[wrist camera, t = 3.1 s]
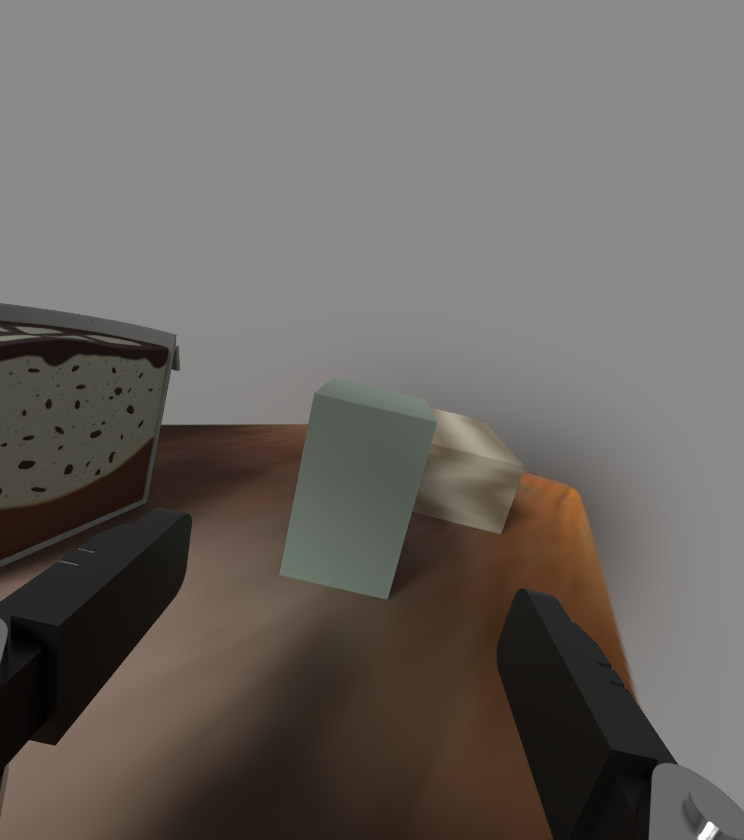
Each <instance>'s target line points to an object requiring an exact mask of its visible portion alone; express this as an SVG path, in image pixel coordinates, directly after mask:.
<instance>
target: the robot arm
mask: <svg viewBox="0 0 744 840" xmlns="http://www.w3.org/2000/svg"><path fill="white" fill-rule="evenodd" d="M191 526H192V518H191V515H190V514H188V513H183V512H179V511H174V510H170V509H165V508H161V507H156V508H154V509H152V510H151V511H150V512H148V513H147V514H146V515H144V516H143V517H142V518H140V519H139V520H138V521H136V522H135V523H134V524H129V523H124V524H121V525H119V526H116V527H113V528H111V529H108V530H106V531H103V532H100V533H99V534H97V535H96V536H94V537H93V538H91V539H90V540H89V541H87V542H86V543H84V544H83V545H81V546H80V547H79V549H78V550H74V551H73V552H71V553H70V554H68V555H67V556H65V557H64V558H63V559H62V560H61V562H60V563H58V562H57V563H55V564H54V565H52V566H51V567H50V568H48V569H47V570H45V571H44V572H42V573H41V574H39V575H38V576H36V577H35V578H34V579H32V580H31V581H29V582H28V583H26V584H25V585H23V586H22V587H21V588H19V589H18V590H16V591H15V592H13V593H12V594H10V595H9V596H8V597H6V598H5V599H3V600H2V601H0V816H1V811H2V805H3V800H4V794H5V789H6V783H7V778H8V770H9V762H10V761H11V760H12V759H13V757H14V756H15V755H16V754H17V753H18V752H19V751H20V749H21V748H22V747H23V746H24V745H25V744H26V743H27V742H28V740H31V741H36V742H41V743H45V744H50V745H56V744H57V743H58V742H59V740H60V739H61V738H62V737H63V735H64V734H65V733H66V732H67V730H68V729H69V728H70V727H71V726H72V724H73V723H74V722H75V721H76V719H77V718H78V717H79V716H80V714H81V713H82V712H83V711H84V709H85V708H86V707H87V706H88V704H89V703H90V702H91V701H92V699H93V698H94V697H95V696H96V695H97V693H98V692H99V691H100V690H101V688H102V687H103V686H104V685H105V683H106V682H107V681H108V680H109V678H110V677H111V676H112V675H113V673H114V672H115V671H116V670H117V669H118V667H119V666H120V665H121V664H122V662H123V661H124V660H125V659H126V657H127V656H128V655H129V654H130V652H131V651H132V650H133V649H134V647H135V646H136V645H137V644H138V643H139V641H140V640H141V639H142V638H143V636H144V635H145V634H146V633H147V631H148V630H149V629H150V628H151V626H152V625H153V624H154V623H155V621H156V620H157V619H158V618H159V617H160V615H161V614H162V613H163V612H164V610H165V609H166V608H167V607H168V605H169V604H170V603H171V602H172V600H173V599H174V598H175V596H176V595H177V593H178V591H179V589H180V587H181V585H182V583H183V580H184V577H185V573H186V568H187V559H188V551H189V543H190V534H191ZM497 666H498V671H499V674H500V677H501V680H502V683H503V686H504V689H505V692H506V695H507V698H508V702H509V705H510V708H511V711H512V714H513V717H514V720H515V723H516V726H517V729H518V732H519V735H520V738H521V741H522V744H523V747H524V751H525V754H526V757H527V760H528V763H529V766H530V769H531V772H532V775H533V778H534V781H535V784H536V787H537V790H538V793H539V796H540V800H541V803H542V806H543V809H544V812H545V815H546V818H547V821H548V824H549V827H550V830H551V833H552V836H553V839H554V840H744V811H743V810H742V809H741V808H740V807H739V806H738V805H737V804H736V803H735V802H734V801H733V800H732V799H730V798H729V797H728V796H727V795H726V794H725V793H724V792H722V791H721V790H720V789H719V788H717V787H716V786H715V785H713V784H712V783H711V782H709V781H708V780H707V779H705V778H703V777H702V776H700V775H699V774H697V773H695V772H693V771H691V770H689V769H687V768H685V767H682V766H680V765H678V764H677V762H676V761H675V759H674V758H673V756H672V755H671V753H670V752H669V750H668V749H667V748H666V746H665V744H664V743H663V741H662V740H661V739H660V737H659V736H658V734H657V733H656V731H655V730H654V728H653V727H652V725H651V724H650V722H649V721H648V719H647V718H646V716H645V715H644V713H643V712H642V710H641V709H640V707H639V706H638V704H637V703H636V701H635V700H634V698H633V697H632V695H631V694H630V692H629V691H628V689H625V688H624V683H623V682H622V680H621V679H620V677H619V676H618V674H617V673H616V672H615V670H612V669H611V664H610V663H609V661H608V660H607V658H606V657H605V655H604V654H603V652H602V651H601V649H600V648H599V646H598V645H597V643H596V642H595V641H594V640H592V639H591V638H590V637H589V636H588V635H587V634H586V633H585V632H584V631H583V630H582V629H581V628H580V627H579V626H578V625H577V624H576V623H572V622H571V620H570V619H569V617H568V616H567V614H566V612H565V611H564V609H563V608H562V606H561V605H560V603H559V601H558V600H557V599H556V598H555V597H554V596H552V595H548V594H544V593H539V592H535V591H530V590H526V589H519V590H518V591H517V592H516V594H515V596H514V599H513V601H512V604H511V607H510V610H509V613H508V615H507V618H506V621H505V624H504V627H503V629H502V632H501V635H500V638H499V641H498V645H497Z"/></svg>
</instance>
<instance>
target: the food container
mask: <svg viewBox="0 0 744 840" xmlns="http://www.w3.org/2000/svg"><path fill="white" fill-rule="evenodd" d="M171 369H173V370H177V371H179V370H180V360H179V346H176V335H175V334H171V333H168V332H164V331H160V330H156V329H152V328H148V327H143V326H138V325H134V324H129V323H124V322H119V321H114V320H108V319H103V318H97V317H92V316H86V315H80V314H74V313H67V312H61V311H55V310H48V309H41V308H34V307H27V306H19V305H11V304H3V303H0V567H2V566H5V565H7V564H9V563H11V562H14V561H16V560H18V559H20V558H23V557H25V556H27V555H30V554H32V553H34V552H36V551H39V550H41V549H43V548H45V547H48V546H50V545H52V544H54V543H57V542H59V541H61V540H63V539H66V538H68V537H70V536H73V535H75V534H77V533H79V532H82V531H84V530H86V529H88V528H91V527H93V526H95V525H97V524H100V523H102V522H104V521H106V520H109V519H111V518H113V517H116V516H118V515H120V514H122V513H125V512H127V511H129V510H131V509H134V508H136V507H138V506H140V505H143V504H145V503H147V499H148V493H149V488H150V482H151V477H152V471H153V466H154V461H155V455H156V450H157V444H158V439H159V433H160V428H161V422H162V417H163V411H164V406H165V400H166V395H167V389H168V384H169V378H170V373H171Z"/></svg>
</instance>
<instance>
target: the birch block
mask: <svg viewBox="0 0 744 840" xmlns="http://www.w3.org/2000/svg"><path fill="white" fill-rule="evenodd" d="M430 409H431V411H432V413H433V415H434V417H435V419H436V420H437V425H436V428H435V432H434V436H433V439H432V443H431V446H430V450H429V453H428V457H427V461H426V464H425V468H424V471H423V475H422V479H421V482H420V486H419V489H418V493H417V496H416V500H415V504H414V507H413V511H412V512H414V513H418V514H422V515H426V516H430V517H434V518H438V519H442V520H446V521H450V522H454V523H458V524H462V525H466V526H470V527H474V528H478V529H482V530H486V531H490V532H494V533H498V534H502V531H503V528H504V525H505V522H506V519H507V517H508V514H509V511H510V508H511V505H512V502H513V499H514V497H515V494H516V491H517V488H518V485H519V482H520V479H521V476H522V474H523V471H524V468H525V466H524V465H523V464H522V463H521V462H520V461H519V460H518V458H517V457H516V456H515V455H514V454H513V453H512V452H511V451H510V450H509V449H508V448H507V447H506V445H505V444H504V443H503V442H502V441H501V440H500V439H499V438H498V437H497V436H496V434H495V433H494V432H493V431H492V430H491V429H490V428H489V427H488V426H487V425H486V424H485V423H484V421H482V420H479V419H474V418H470V417H466V416H462V415H457V414H454V413H450V412H445V411H441V410H437V409H433V408H430Z"/></svg>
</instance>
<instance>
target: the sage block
mask: <svg viewBox="0 0 744 840" xmlns="http://www.w3.org/2000/svg"><path fill="white" fill-rule="evenodd" d="M436 425H437V420H436V419H435V417H434V415H433V413H432V411H431V409H430V407H429V405H428V403H427V401H426V400H425V399H421V398H417V397H413V396H409V395H404V394H400V393H396V392H391V391H387V390H383V389H379V388H374V387H370V386H365V385H362V384H357V383H353V382H348V381H345V380H340V379H336V378H332V379H331V380H330V381H328V382H327V383H326V384H325V385H324V386H322V387H321V388H320V389H319V390H318V391H317V392H315V394H314V399H313V404H312V408H311V413H310V419H309V424H308V429H307V434H306V439H305V444H304V449H303V455H302V460H301V465H300V470H299V475H298V480H297V486H296V491H295V496H294V501H293V506H292V511H291V516H290V522H289V527H288V532H287V537H286V542H285V547H284V553H283V558H282V563H281V568H280V573H279V575H281V576H285V577H290V578H294V579H299V580H303V581H307V582H312V583H316V584H320V585H325V586H329V587H334V588H338V589H342V590H347V591H351V592H355V593H360V594H364V595H369V596H373V597H377V598H382V599H386V600H388V597H389V593H390V589H391V586H392V582H393V579H394V575H395V571H396V568H397V564H398V561H399V557H400V554H401V550H402V546H403V543H404V539H405V536H406V532H407V529H408V525H409V521H410V518H411V514H412V511H413V507H414V504H415V500H416V496H417V493H418V489H419V486H420V482H421V479H422V475H423V471H424V468H425V464H426V461H427V457H428V453H429V450H430V446H431V443H432V439H433V436H434V432H435V428H436Z"/></svg>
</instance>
